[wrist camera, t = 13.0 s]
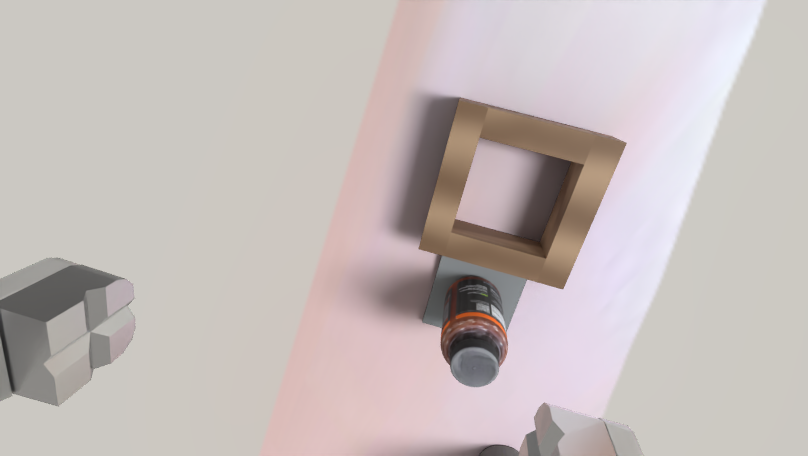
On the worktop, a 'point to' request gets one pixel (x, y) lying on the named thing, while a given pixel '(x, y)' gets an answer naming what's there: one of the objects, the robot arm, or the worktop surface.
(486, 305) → the supplement bottle
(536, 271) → the frame
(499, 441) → the worktop surface
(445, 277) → the grey mat
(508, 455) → the bottle
